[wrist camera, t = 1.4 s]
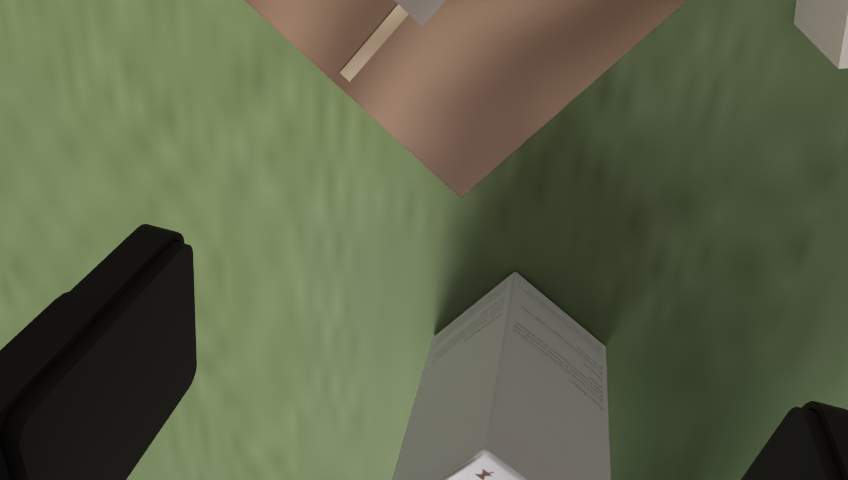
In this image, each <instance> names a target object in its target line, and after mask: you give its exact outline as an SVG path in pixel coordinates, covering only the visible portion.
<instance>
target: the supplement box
mask: <svg viewBox="0 0 848 480" xmlns="http://www.w3.org/2000/svg"><path fill="white" fill-rule="evenodd" d="M392 480H611V466H610V438H609V413H608V390H607V364H606V347H605V346H604V345H603V344H602V343H601V342H599V341H598V340H597V339H596V338H595V337H594V336H592V335H591V334H590V333H589V332H588V331H586V330H585V329H584V328H583V327H582V326H580V325H579V324H578V323H577V322H576V321H574V320H573V319H572V318H571V317H570V316H568V315H567V314H566V313H565V312H564V311H562V310H561V309H560V308H559V307H558V306H556V305H555V304H554V303H553V302H552V301H550V300H549V299H548V298H547V297H546V296H544V295H543V294H542V293H541V292H540V291H538V290H537V289H536V288H535V287H534V286H532V285H531V284H530V283H529V282H528V281H526V280H525V279H524V278H523V277H522V276H521V275H519V274H518V273H517V272H513V273H512V274H511V275H510V276H508V277H507V278H506V279H505V280H503V281H502V282H501V283H499V284H498V285H497V286H496V287H495V288H493V289H492V290H491V291H490V292H488V293H487V294H486V295H485V296H483V297H482V298H481V299H480V300H478V301H477V302H476V303H475V304H473V305H472V306H471V307H470V308H468V309H467V310H466V311H465V312H463V313H462V314H461V315H460V316H459V317H457V318H456V319H455V320H454V321H452V322H451V323H450V324H449V325H448V326H446V327H445V328H444V329H442V330H441V331H440V332H439V333H438V334H437V335H435V336H434V337H433V339H432V342H431V345H430V349H429V353H428V357H427V360H426V363H425V367H424V370H423V374H422V377H421V381H420V384H419V388H418V391H417V395H416V398H415V402H414V405H413V409H412V413H411V416H410V419H409V423H408V426H407V429H406V433H405V436H404V440H403V443H402V447H401V450H400V454H399V458H398V461H397V464H396V468H395V472H394V475H393V479H392Z"/></svg>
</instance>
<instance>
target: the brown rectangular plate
mask: <svg viewBox="0 0 848 480" xmlns="http://www.w3.org/2000/svg"><path fill="white" fill-rule="evenodd" d="M245 1H246V2H247V3H248V4H249V5H250V6H251V7H252V8H254V9H255V10H256V11H257V12H258V13H259V14H260V15H261V16H262V17H263V18H264V19H266V20H267V21H268V22H269V23H270V24H271V25H272V26H273V27H274V28H275V29H277V30H278V31H279V32H280V33H281V34H282V35H283V36H284V37H285V38H286V39H287V40H289V41H290V42H291V43H292V44H293V45H294V46H295V47H296V48H297V49H298V50H299V51H301V52H302V53H303V54H304V55H305V56H306V57H307V58H308V59H309V60H310V61H311V62H313V63H314V64H315V65H316V66H317V67H318V68H319V69H320V70H321V71H322V72H324V73H325V74H326V75H327V76H328V77H329V78H330V79H331V80H332V81H333V82H334V83H336V84H337V85H338V86H339V87H340V88H341V89H342V90H343V91H344V92H345V93H346V94H348V95H349V96H350V97H351V98H352V99H353V100H354V101H355V102H356V103H357V104H359V105H360V106H361V107H362V108H363V109H364V110H365V111H366V112H367V113H368V114H369V115H371V116H372V117H373V118H374V119H375V120H376V121H377V122H378V123H379V124H380V125H381V126H383V127H384V128H385V129H386V130H387V131H388V132H389V133H390V134H391V135H392V136H394V137H395V138H396V139H397V140H398V141H399V142H400V143H401V144H402V145H403V146H404V147H406V148H407V149H408V150H409V151H410V152H411V153H412V154H413V155H414V156H415V157H416V158H418V159H419V160H420V161H421V162H422V163H423V164H424V165H425V166H426V167H427V168H428V169H430V170H431V171H432V172H433V173H434V174H435V175H436V176H437V177H438V178H439V179H441V180H442V181H443V182H444V183H445V184H446V185H447V186H448V187H449V188H450V189H451V190H453V191H454V192H455V193H456V194H457V195H458V196H459V197H460V198H461V197H463V196H464V195H465V194H466V193H467V192H468V191H469V190H471V189H472V188H473V187H474V186H475V185H476V184H477V183H479V182H480V181H481V180H482V179H483V178H484V177H485V176H487V175H488V174H489V173H490V172H491V171H492V170H493V169H495V168H496V167H497V166H498V165H499V164H500V163H501V162H503V161H504V160H505V159H506V158H507V157H508V156H509V155H511V154H512V153H513V152H514V151H515V150H516V149H517V148H519V147H520V146H521V145H522V144H523V143H524V142H525V141H527V140H528V139H529V138H530V137H531V136H532V135H533V134H535V133H536V132H537V131H538V130H539V129H540V128H541V127H543V126H544V125H545V124H546V123H547V122H548V121H549V120H551V119H552V118H553V117H554V116H555V115H556V114H557V113H559V112H560V111H561V110H562V109H563V108H564V107H565V106H567V105H568V104H569V103H570V102H571V101H572V100H573V99H575V98H576V97H577V96H578V95H579V94H580V93H581V92H583V91H584V90H585V89H586V88H587V87H588V86H589V85H591V84H592V83H593V82H594V81H595V80H596V79H597V78H599V77H600V76H601V75H602V74H603V73H604V72H605V71H607V70H608V69H609V68H610V67H611V66H612V65H613V64H615V63H616V62H617V61H618V60H619V59H620V58H621V57H623V56H624V55H625V54H626V53H627V52H628V51H629V50H631V49H632V48H633V47H634V46H635V45H636V44H637V43H639V42H640V41H641V40H642V39H643V38H644V37H645V36H647V35H648V34H649V33H650V32H651V31H652V30H653V29H655V28H656V27H657V26H658V25H659V24H660V23H661V22H663V21H664V20H665V19H666V18H667V17H668V16H669V15H671V14H672V13H673V12H674V11H675V10H676V9H677V8H679V7H680V6H681V5H682V4H683V3H684V2H685V1H686V0H245Z"/></svg>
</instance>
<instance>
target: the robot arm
mask: <svg viewBox="0 0 848 480" xmlns="http://www.w3.org/2000/svg"><path fill="white" fill-rule="evenodd" d="M196 365H197V361H196V331H195V300H194V270H193V250H192V247H191V246H190V245H188V244H184V238H183V236H182V234H180V233H178V232H175V231H171V230H167V229H163V228H160V227H156V226H152V225H148V224H144V225H141V226H140V227H138V228H137V229H136V230H135V231H134V232H133V233H131V234H130V235H129V236H128V237H127V238H126V239H125V240H124V241H123V242H122V243H121V244H120V245H119V246H118V247H117V248H116V249H114V250H113V251H112V252H111V253H110V254H109V255H108V256H107V257H106V258H105V259H104V260H103V261H102V262H101V263H100V264H98V265H97V266H96V267H95V268H94V269H93V270H92V271H91V272H90V273H89V274H88V275H87V276H86V277H85V278H84V279H83V280H81V281H80V282H79V283H78V284H77V285H76V286H75V287H74V288H73V289H72V290H71V291H70V292H67V293H64V294H62V295H61V296H60V297H58V298H57V299H55V300H54V301H53V302H52V303H51V304H50V305H49V306H48V307H47V308H46V309H45V310H43V311H42V312H41V313H40V314H39V315H38V316H37V317H36V318H35V319H34V320H33V321H32V322H31V323H29V324H28V325H27V326H26V327H25V328H24V329H23V330H22V331H21V332H20V333H19V334H18V335H17V336H15V337H14V338H13V339H12V340H11V341H10V342H9V343H8V344H7V345H6V346H5V347H4V348H3V349H1V350H0V480H126V479H127V478H128V476H129V475H130V473H131V472H132V470H133V469H134V467H135V466H136V464H137V463H138V462H139V460H140V459H141V457H142V456H143V454H144V453H145V451H146V450H147V448H148V447H149V445H150V444H151V443H152V441H153V440H154V438H155V437H156V435H157V434H158V432H159V431H160V429H161V428H162V427H163V425H164V424H165V422H166V421H167V419H168V418H169V416H170V415H171V413H172V412H173V410H174V409H175V408H176V406H177V405H178V403H179V402H180V400H181V399H182V397H183V396H184V394H185V393H186V392H187V390H188V389H189V387H190V385H191V383H192V381H193V379H194V376H195V372H196ZM741 480H848V410H846V409H842V408H838V407H834V406H830V405H827V404H823V403H819V402H815V401H810V402H808V403H806V404H805V405H804V406H803V407H802V408H799V407H794V408H792V409H791V410H790V411H789V412H788V414H787V415H786V416H785V418H784V419H783V421H782V422H781V423H780V425H779V426H778V428H777V429H776V431H775V432H774V433H773V435H772V436H771V438H770V439H769V441H768V442H767V443H766V445H765V446H764V448H763V449H762V450H761V452H760V453H759V455H758V456H757V458H756V459H755V460H754V462H753V463H752V465H751V466H750V468H749V469H748V470H747V472H746V473H745V475H744V476H743V478H742V479H741Z"/></svg>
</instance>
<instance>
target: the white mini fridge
mask: <svg viewBox="0 0 848 480" xmlns="http://www.w3.org/2000/svg"><path fill="white" fill-rule="evenodd" d="M794 24H795V25H796V26H797V27H798V28H799V29H800V30H801V31H802V32H803V33H804V34H805V35H806V37H807V38H808V39H809V40H810V41H811V42H812V43H813V44H814V45H815V46H816V47H817V48H818V49H819V50H820V51H821V52H822V53H823V54H824V55H825V56H826V57H827V58H828V59H829V60H830V61H831V62H832V63H833V64H834V65H835V66H836V67H837V68H838V69H845V68H848V0H796V7H795V15H794Z"/></svg>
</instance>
